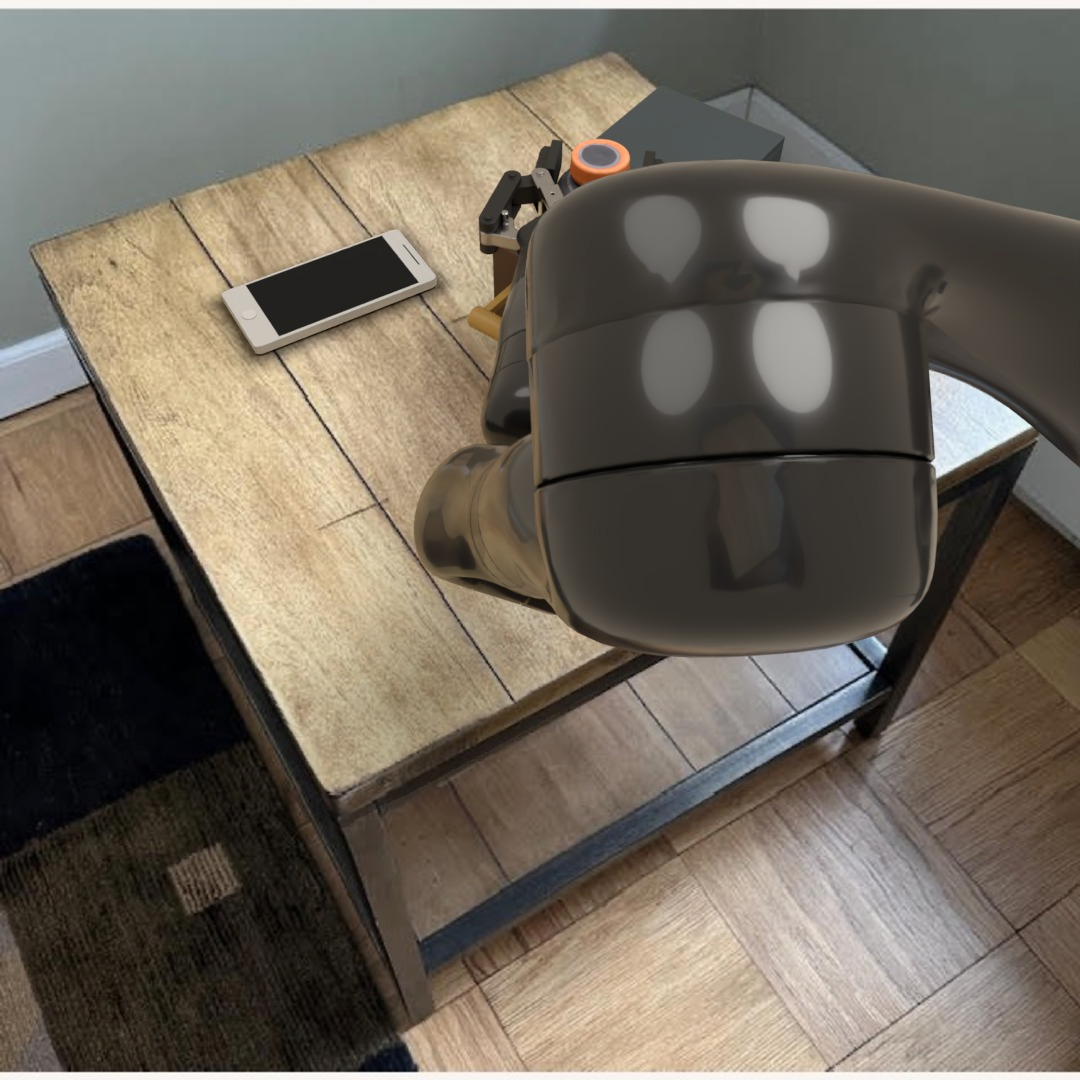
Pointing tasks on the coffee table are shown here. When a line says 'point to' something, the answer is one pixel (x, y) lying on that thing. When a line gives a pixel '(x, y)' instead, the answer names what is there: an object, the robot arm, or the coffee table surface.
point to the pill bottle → (594, 163)
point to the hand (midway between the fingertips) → (602, 156)
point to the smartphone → (328, 290)
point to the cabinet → (690, 132)
